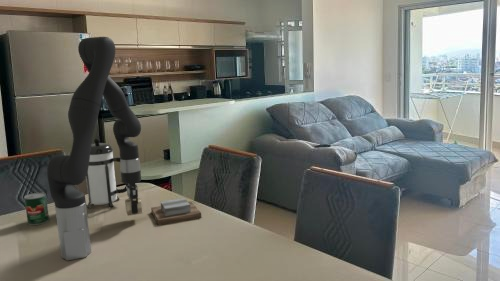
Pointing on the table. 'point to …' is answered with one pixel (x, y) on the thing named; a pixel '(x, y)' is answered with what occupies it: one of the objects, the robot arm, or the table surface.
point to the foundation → (175, 211)
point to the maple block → (129, 209)
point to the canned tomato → (36, 208)
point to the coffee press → (102, 175)
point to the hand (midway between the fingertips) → (133, 210)
